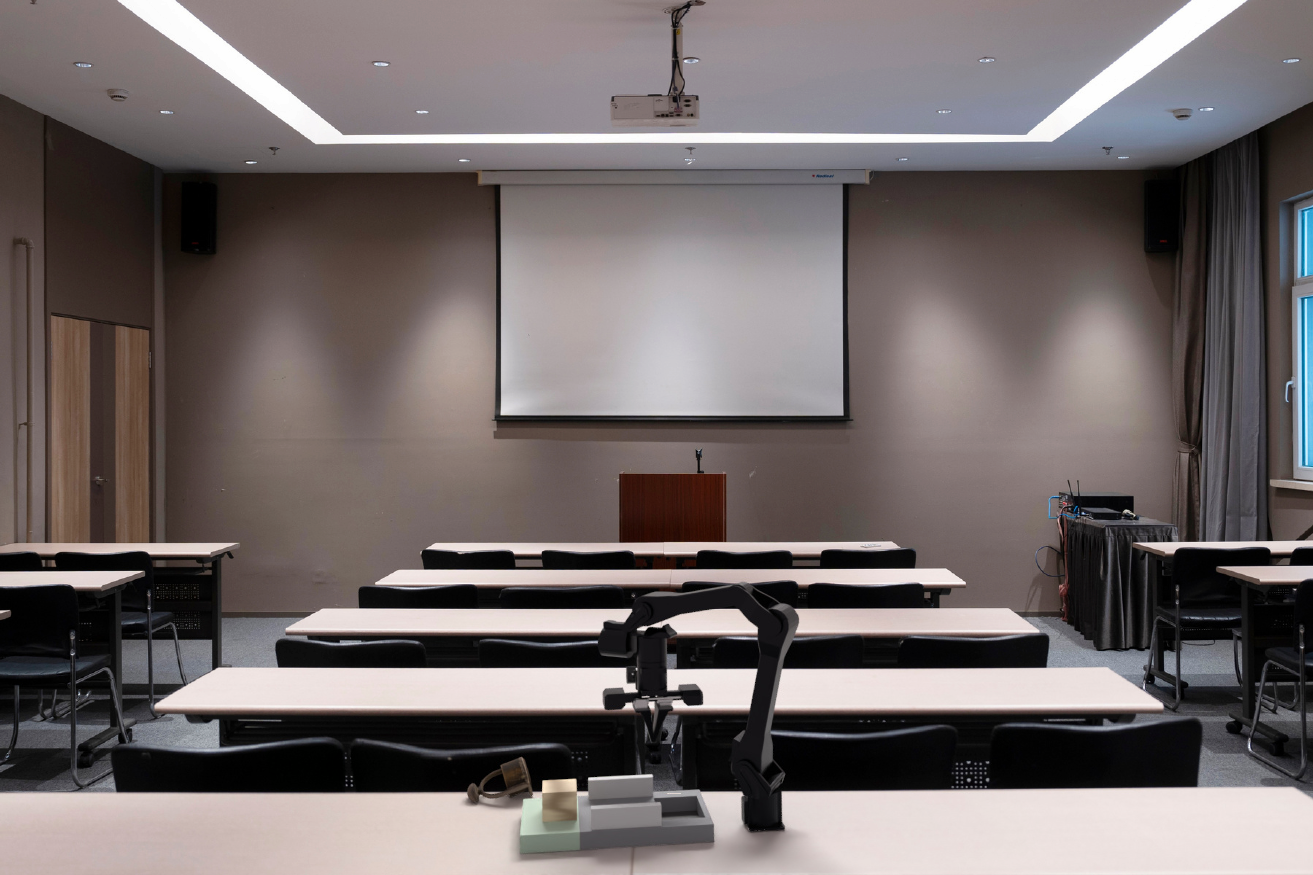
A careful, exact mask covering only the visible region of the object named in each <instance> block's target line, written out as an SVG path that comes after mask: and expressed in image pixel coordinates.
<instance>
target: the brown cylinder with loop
mask: <svg viewBox="0 0 1313 875" xmlns="http://www.w3.org/2000/svg"><path fill="white" fill-rule="evenodd" d="M501 774H502V776H503V780H504V783H505V785H506V786H505V787H506V789H505V790H502V791H499V792H495V793H488V792H485V791H484V785H485V784H486V783H487V782H488V781H489V780H490V779H492V778H493V777H496V776H499V775H501ZM525 792H528V793H529V796H530V797H531V796H532V795H533V796H534V793H533V788H532V780H531V776H530V773H529V768H528V767H527V763H526V759H525V758H523V757H522V756H521V757H518V758H515V759H513V760H511V761H508V762H505V763H502V764H500V768H499V769H497V770H494V771H492V772H491V773H489V774H488V775H486V776H485V777H484V778H483V779H482V780H481V782H480V784H479V786H477V785H476V784H475V783H473V782H472V783H471V784H469V786H468V788H467V791H466V796H467V797H468V799H469V800H470V801H471V802H473V803H478V802H479V801H480V796H482V797H483V798H485V799H493V800H494V799H495V800H496V799H500V798H503V797H507V796H509V798H513V797H515V796H518V795H520V794H523V793H525ZM512 796H513V797H512ZM533 796H532V797H533Z"/></svg>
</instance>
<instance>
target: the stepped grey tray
mask: <svg viewBox="0 0 1313 875" xmlns="http://www.w3.org/2000/svg"><path fill="white" fill-rule="evenodd" d="M587 783H588V784H587V785H588V786H587V790H588V791H587V792H588V793H587V795H577V820H570V821H553V822H542V797H539V798H536V797H535V798H533V797H532V798H523V800H522V810H521V819H520V829H519V830H520V831H519V854H520V855H521V854H532V853H534V854H537V853H551V852H552V853H553V852H568V851H582V850H584V851H585V850H601V849H616V848H618V849H621V848H634V847H635V848H637V847H649V846H665V845H667V846H669V845H681V844H682V845H683V844H684V845H685V844H687V845H688V844H700V843H701V844H702V843H715V824H714V820H713V819H712V816H711V814H710V812H709V809H708V807H707V804H706V802H705V798H704V797H703V795H702V792H701V790H700V789H682V790H668V791H667V790H666V791H665V790H664V791H654V775H653V774H652V773H651V774H635V775H633V774H632V775H611V776H610V775H609V776H597V777H595V776H594V777H588V779H587ZM667 793H681V794H667Z"/></svg>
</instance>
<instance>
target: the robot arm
mask: <svg viewBox="0 0 1313 875" xmlns="http://www.w3.org/2000/svg"><path fill="white" fill-rule="evenodd" d="M730 607H735V608H736V609H737V610H739V612H740V613H741V614H742V615H743V616H744V617H745V618H746V620H747V621H748V622H750V623H751V624H752V625H753V626H755V627H756V628H757V644H758V649H759V659H758V664H757V669H756V674H755V680H754V684H753V691H752V697H751V702H750V707H749V713H748V718H747V722H746V723H747V724H746V728H745V729H744V730H742V731H741V732H740V733H739V734H737V735H736V736H735V737H734V738H733V739H732V742H731V753H730V756H729V758H728V760H727V761H728V763H729V762H731V763H730V771H731V774H732V775H733V777H734V778H735V779H736V780H737V781H738V783H739V787H740V790H741V793H742V795H741V797H740V798H741V800H740V802H741V804H740V806H741V807H740V808H741V810H740V812H741V820H742V822H743V824H744V825H745V826H746V828H747V830H748V831H749V832H764V831H784V830H786V825H785V824H784V822H783V791H782V790H781V788H780V787H779V786H780V785H782V784H783V781H784V778H785V775H786V773H785V771H784V770H783V769H782V767H781V766H780V765H779V764H778V763H777V762H776V761H775V760H774V758H773V757H774V756H773V755H774V753H773V752H774V751H773V749H774V747H773V746H774V744H773V740H772V738H773V737H772V733H771V732H772V731H771V729H772V724H773V719H774V713H775V708H776V704H777V703H776V702H777V697H778V692H779V686H780V682H781V676H782V671H783V666H784V662H785V661H784V660H785V657H786V654H787V652H788V651H789V648H790V646H791V644H792V642H793V641H794V638H795V635H796V633H797V630H798V627H799V624H800V616H799V614H798V613H797V611H796V609H795V608H794V607H792V605H790V604H787V603H781V602H779V601H778V600H777V599H776V598H774V597H772V596H770V595H768V594H767V593H764V592H762V591H760V590H759V589H757V588H756V587H755V586H753V585H751V583H749V582H747V581H740V582H737V583H735V584H728V585H723V586H717V587H712V588H705V589H700V590H699V589H698V590H695V591H694V590H693V591H689V592H672V591H654V592H650V593H647V594H644V595H641V596H638V597H637V598H635V600H634V601H633V602H632V606H631V613H629V615H628V617H627V618H626V619H625V621H616V620H614V619H613V620H612V619H607V620H605V621H603V623H602V627H603V628H602V629H601V630H600V633H599V635H598V636H599V637H598V640H597V649H598V651H599V654H600V655H601V656H606V657H617V658H626V659H630V658H632V657H633V656H634V654H636V666H635V665H633V666H632V665H631V666H625V678H626V679H625V680H626V685H628V684H629V685H630V684H633V685H634V684H635V685H634V686H635V690H636V691H632V692H631V691H630V692H625V689H624V687H607V688H604V690H602V704H603V709H604V710H605V711H619V710H621V711H622V710H623V709H624V708H625V707H626V705H627V704H632V708H633V711H634V713H635V714H640V715H641V717H642V720H643V722H644V724H645V727H646V731H647V733H648V737H649V740H650V743H651V744H653V743H654V744H656V742H657V739H658V737H659V735H660V732H661V728H662V726H663V723H664V722H665V720H666V718H667V716H668V714H669V713H670V712H674V706H673V702H674V701H682V702H683V704H685V705H686V706H687V707H696V706H697V707H698V706H703V705H704V694H703V690H702V689H701V687H700V686H699V685H697V683H686V684H684V683H683V684H678V688H677V689H671V690H670V689H669V690H668V651H667V650H668V649H667V648H668V645H667V643H668V642H667V641H668V640H669V639H670V640H671V639H672V638H674V637H676V636H678V632H677V631H676V630H675V629H674V628H673V627H672V626H671V625H670V623H665V624H663V625H662V627H661V626H660V627H659V626H653V625H655V624H659V623H661V622H664V621H666V620H669V619H672V618H675V617H677V616H680V615H686V614H692V613H699V612H705V611H711V610H717V609H724V608H730ZM642 627H647V628H646V629H645V630H642V629H641V628H642ZM640 629H641V630H640ZM651 702H654V704H653V707H654V708H653V709H654V712H653V713H654V715H653V718H652V710H651V708H650V705H649V704H650V703H651Z"/></svg>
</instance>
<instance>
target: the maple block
mask: <svg viewBox="0 0 1313 875" xmlns="http://www.w3.org/2000/svg"><path fill="white" fill-rule="evenodd" d="M577 788H578V786H577V778H568V779H548V780H542V789H541V790H542V791H541V798H542V822H553V821H570V820H577V796H578V789H577Z"/></svg>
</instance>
